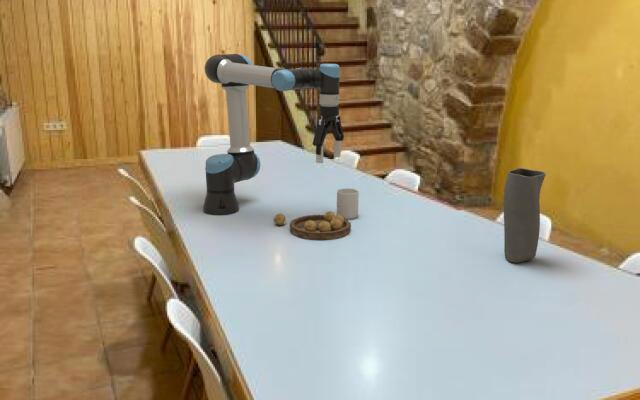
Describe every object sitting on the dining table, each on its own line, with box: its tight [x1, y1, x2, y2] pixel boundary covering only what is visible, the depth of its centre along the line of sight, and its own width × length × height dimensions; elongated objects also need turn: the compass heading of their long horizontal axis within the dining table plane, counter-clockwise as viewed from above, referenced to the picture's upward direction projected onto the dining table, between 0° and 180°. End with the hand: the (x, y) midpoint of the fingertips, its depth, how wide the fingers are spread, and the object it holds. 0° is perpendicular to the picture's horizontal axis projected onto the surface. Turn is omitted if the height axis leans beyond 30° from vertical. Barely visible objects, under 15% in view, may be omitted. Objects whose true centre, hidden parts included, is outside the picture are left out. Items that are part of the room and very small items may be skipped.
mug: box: [336, 187, 360, 221], centre depth 242 cm, size 12×9×11 cm
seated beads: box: [304, 210, 344, 232], centre depth 223 cm, size 12×19×5 cm, turn 148°
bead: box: [273, 213, 286, 226], centre depth 231 cm, size 5×5×5 cm
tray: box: [289, 214, 352, 241], centre depth 225 cm, size 23×23×3 cm
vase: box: [502, 167, 547, 264], centre depth 193 cm, size 12×12×30 cm
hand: (328, 159), depth 229 cm, fingers open, 13 cm apart
